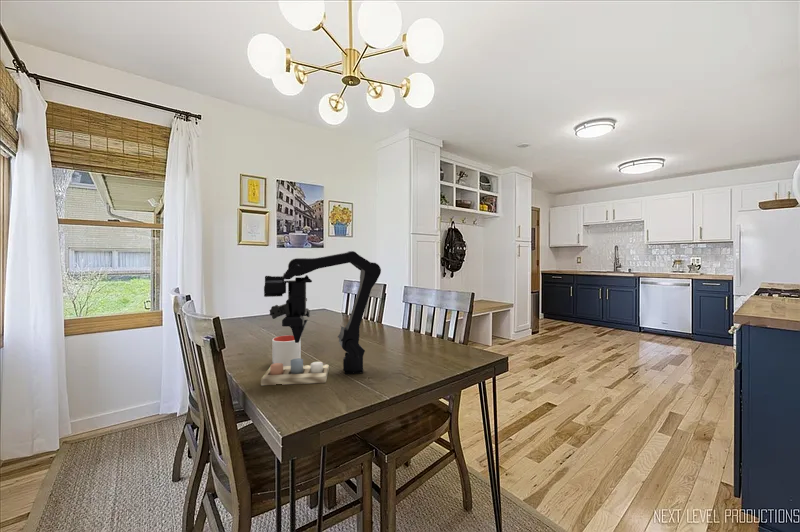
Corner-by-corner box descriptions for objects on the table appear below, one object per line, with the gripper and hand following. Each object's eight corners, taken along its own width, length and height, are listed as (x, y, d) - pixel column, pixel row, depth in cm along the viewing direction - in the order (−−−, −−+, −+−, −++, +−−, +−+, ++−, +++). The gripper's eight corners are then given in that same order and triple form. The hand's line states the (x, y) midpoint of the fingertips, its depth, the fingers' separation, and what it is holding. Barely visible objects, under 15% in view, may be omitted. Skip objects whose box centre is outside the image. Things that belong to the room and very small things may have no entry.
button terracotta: (284, 374, 116) (284, 362, 116) (281, 378, 112) (281, 366, 112) (272, 374, 116) (272, 363, 116) (269, 379, 112) (269, 367, 112)
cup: (292, 370, 122) (292, 342, 122) (267, 368, 124) (266, 340, 124) (305, 361, 132) (305, 335, 132) (281, 359, 134) (281, 334, 134)
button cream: (323, 372, 118) (323, 361, 118) (322, 377, 114) (322, 365, 114) (311, 373, 118) (311, 361, 117) (309, 377, 114) (309, 365, 113)
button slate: (303, 369, 117) (303, 358, 117) (302, 373, 113) (302, 361, 113) (291, 370, 117) (291, 358, 116) (289, 374, 113) (289, 362, 113)
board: (328, 370, 122) (328, 364, 122) (325, 382, 110) (325, 376, 110) (270, 372, 120) (270, 366, 120) (261, 385, 108) (260, 379, 108)
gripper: (278, 293, 122) (278, 336, 123) (264, 299, 104) (264, 350, 104) (310, 292, 124) (310, 335, 124) (302, 299, 105) (302, 349, 106)
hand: (297, 342), depth 115 cm, fingers closed
